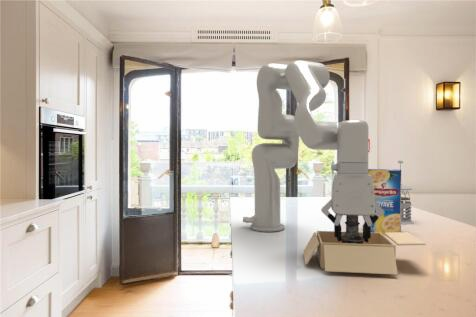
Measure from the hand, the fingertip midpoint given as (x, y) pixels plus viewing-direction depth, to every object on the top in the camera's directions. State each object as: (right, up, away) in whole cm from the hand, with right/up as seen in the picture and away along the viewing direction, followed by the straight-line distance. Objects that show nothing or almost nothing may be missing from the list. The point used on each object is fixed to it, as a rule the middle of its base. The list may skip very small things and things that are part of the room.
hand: (352, 239), depth 86 cm
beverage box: (+22, -5, +34) cm, 41 cm away
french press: (+37, -5, +52) cm, 64 cm away
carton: (-2, -6, 0) cm, 6 cm away
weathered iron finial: (0, -3, 0) cm, 3 cm away
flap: (+9, +1, -2) cm, 9 cm away
